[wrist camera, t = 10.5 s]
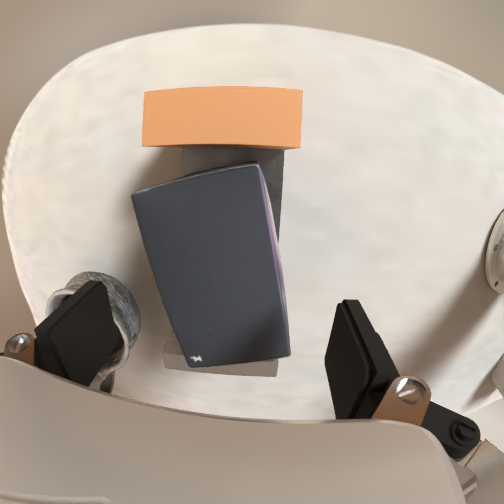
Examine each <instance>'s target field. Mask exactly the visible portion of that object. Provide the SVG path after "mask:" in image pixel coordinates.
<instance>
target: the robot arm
mask: <svg viewBox="0 0 504 504" xmlns="http://www.w3.org/2000/svg"><path fill="white" fill-rule="evenodd" d="M485 273H486V278H487V281H488V284H489V285H490V286H491V288H492V289H494V290H495V291H496V292H499V293H504V211H503V212H502V213H501V215H500V216H499V218H498V220H497V222H496V224H495V226H494V228H493V230H492V233H491V236H490V239H489V243H488V247H487V252H486V261H485ZM34 331H35V333H36V336H37V338H36V339H34V337H33V336H32V335H31V334H29V333H19V334H16V335H14V336H12V337H11V338H10V339H9V340H8V341H7V342H6V345H5V349H4V352H3V353H0V504H504V453H503V452H501V451H500V450H499V449H498V448H497V447H495V446H494V445H493V444H491V443H490V442H489V441H488V440H486V439H485V440H484V441H482V440H480V430H479V428H478V426H477V424H476V423H475V422H474V421H472V420H471V419H469V418H467V417H464V416H462V415H460V414H458V413H455V412H453V411H451V410H449V409H447V408H444V407H442V406H440V405H438V404H436V403H434V402H431V401H430V399H431V391H430V388H429V387H428V385H427V384H426V383H425V382H424V381H423V380H421V379H419V378H417V377H414V376H406V375H405V376H400V375H399V373H398V371H397V369H396V367H395V365H394V363H393V361H392V359H391V357H390V355H389V353H388V351H387V349H386V347H385V345H384V343H383V341H382V339H381V337H380V335H379V334H378V333H377V332H375V330H374V328H373V326H372V324H371V323H370V321H369V319H368V317H367V315H366V313H365V311H364V309H363V308H362V306H361V304H360V302H359V301H358V300H346V299H344V300H343V301H342V303H338V305H337V308H336V313H335V317H334V322H333V326H332V330H331V335H330V339H329V343H328V347H327V351H326V355H325V368H326V372H327V377H328V382H329V386H330V391H331V396H332V400H333V405H334V410H335V415H336V420H272V419H252V418H239V417H228V416H219V415H211V414H204V413H197V412H190V411H184V410H178V409H173V408H167V407H162V406H158V405H153V404H148V403H144V402H140V401H136V400H132V399H128V398H124V397H120V396H117V395H113V394H110V393H106V392H103V391H100V390H96V389H93V388H90V387H89V386H90V384H91V383H92V381H93V380H94V378H95V377H96V375H97V373H98V372H99V370H100V369H101V367H102V366H103V364H104V363H105V361H106V360H107V358H108V357H109V355H110V354H111V352H112V351H113V350H114V348H115V347H116V345H117V343H118V334H117V330H116V326H115V322H114V318H113V314H112V310H111V305H110V301H109V296H108V291H107V287H106V286H105V285H104V284H103V282H102V281H96V280H89V281H87V282H86V283H85V284H84V285H83V286H82V287H80V288H79V289H78V290H77V291H76V292H75V293H73V294H72V295H71V296H70V297H69V298H68V299H67V300H65V301H64V302H63V303H62V304H61V305H60V306H59V307H58V308H57V309H55V310H54V311H53V312H52V313H51V314H50V315H49V316H48V317H47V318H46V319H45V320H44V321H43V322H41V323H40V324H39V325H38V326H37V327H36V328H35V329H34Z"/></svg>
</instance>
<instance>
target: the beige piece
mask: <svg viewBox="0 0 504 504" xmlns="http://www.w3.org/2000/svg"><path fill="white" fill-rule="evenodd" d="M491 381H492V382H493V383H494V385H495V386H496V387H497V389H498V390H499V392H500V393H501V395H502V396H503V397H504V354H503V356H502V357H501V359H500V361H499V363H498V365H497V366H496V368H495V370H494V372H493V374H492V376H491Z"/></svg>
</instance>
